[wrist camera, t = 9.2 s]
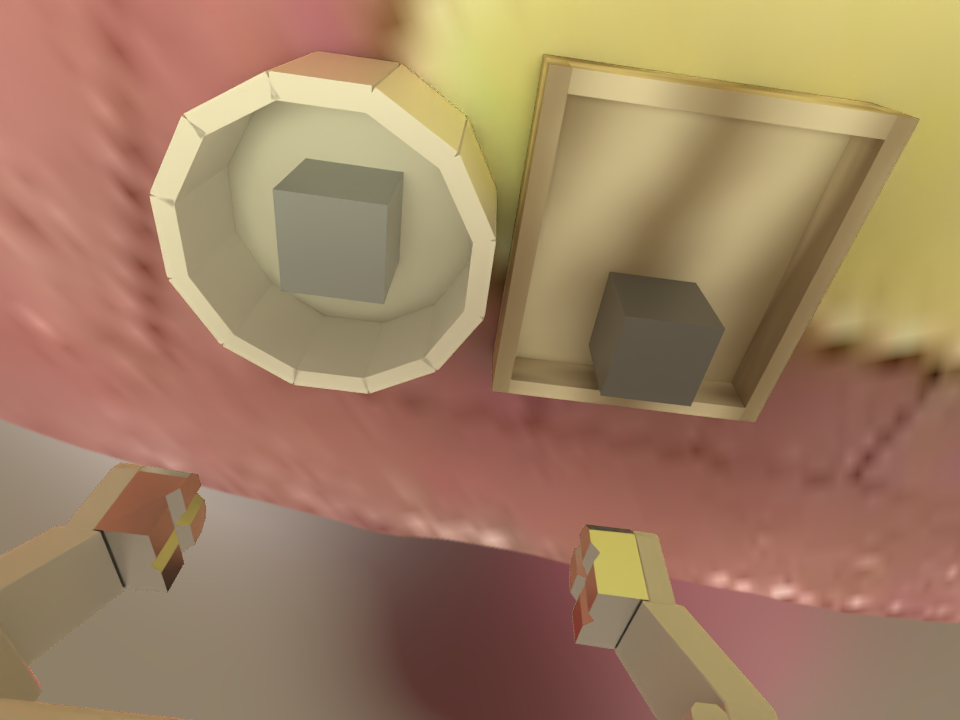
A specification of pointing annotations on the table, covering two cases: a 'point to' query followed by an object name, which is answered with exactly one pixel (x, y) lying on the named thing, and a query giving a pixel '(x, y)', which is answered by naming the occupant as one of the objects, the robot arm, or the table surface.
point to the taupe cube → (338, 230)
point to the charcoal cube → (653, 339)
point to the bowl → (252, 231)
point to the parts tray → (683, 219)
